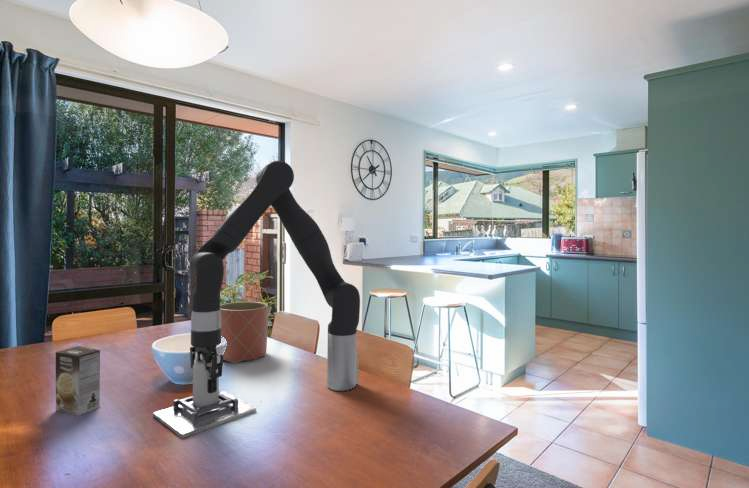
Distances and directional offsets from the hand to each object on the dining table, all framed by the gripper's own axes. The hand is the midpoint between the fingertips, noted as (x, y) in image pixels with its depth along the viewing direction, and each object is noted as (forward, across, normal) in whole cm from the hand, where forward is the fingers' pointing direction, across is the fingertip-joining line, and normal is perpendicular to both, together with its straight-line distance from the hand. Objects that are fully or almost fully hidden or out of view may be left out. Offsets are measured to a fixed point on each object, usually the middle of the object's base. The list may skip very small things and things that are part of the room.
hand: (205, 388), depth 110 cm
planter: (+7, +38, -34) cm, 51 cm away
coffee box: (+7, +28, +22) cm, 36 cm away
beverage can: (+4, 0, 0) cm, 4 cm away
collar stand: (+7, 0, 0) cm, 7 cm away
